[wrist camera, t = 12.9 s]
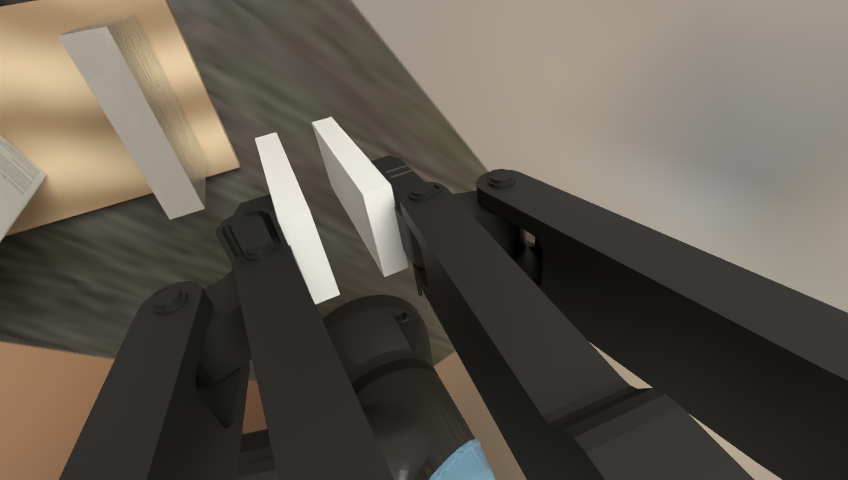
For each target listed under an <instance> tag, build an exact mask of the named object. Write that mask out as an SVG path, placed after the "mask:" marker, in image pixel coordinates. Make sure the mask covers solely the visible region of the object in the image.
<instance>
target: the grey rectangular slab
mask: <svg viewBox="0 0 848 480" xmlns="http://www.w3.org/2000/svg"><path fill="white" fill-rule="evenodd" d="M58 37H59V39H60V41H61V42H62V44H63V45H64V47H65V49H66V50H67V52H68V54H69V55H70V57H71V59H72V60H73V62H74V63H75V65H76V67H77V68H78V70H79V72H80V73H81V75H82V77H83V78H84V80H85V81H86V83H87V85H88V86H89V88H90V90H91V91H92V93H93V95H94V96H95V98H96V100H97V101H98V103H99V104H100V106H101V108H102V109H103V111H104V113H105V114H106V116H107V118H108V119H109V121H110V122H111V124H112V126H113V127H114V129H115V131H116V132H117V134H118V136H119V137H120V139H121V140H122V142H123V144H124V145H125V147H126V149H127V150H128V152H129V154H130V155H131V157H132V159H133V160H134V162H135V163H136V165H137V167H138V168H139V170H140V172H141V173H142V175H143V177H144V178H145V180H146V181H147V183H148V185H149V186H150V188H151V190H152V191H153V193H154V195H155V196H156V198H157V199H158V201H159V203H160V204H161V206H162V208H163V209H164V211H165V213H166V214H167V216H168V217H169V219H170V220H171V219H174V218H177V217H180V216H183V215H187V214H190V213H193V212H196V211H199V210H203V209H205V185H206V157H205V155H204V153H203V151H202V149H201V147H200V145H199V143H198V141H197V139H196V137H195V135H194V133H193V131H192V129H191V127H190V125H189V123H188V121H187V119H186V117H185V115H184V113H183V111H182V109H181V107H180V105H179V103H178V101H177V98H176V96H175V94H174V92H173V90H172V88H171V86H170V84H169V82H168V80H167V78H166V76H165V74H164V72H163V70H162V68H161V66H160V64H159V62H158V60H157V58H156V56H155V54H154V52H153V50H152V48H151V46H150V44H149V42H148V40H147V38H146V36H145V34H144V32H143V30H142V28H141V26H140V24H139V22H138V20H137V18H136V16H135V14H131V15H125V16H120V17H115V18H109V19H104V20H99V21H96V22H94V23H91V24H88V25H86V26H83V27H80V28H77V29H75V30H72V31H69V32H67V33H64V34H61V35H59V36H58Z"/></svg>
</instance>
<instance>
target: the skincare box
mask: <svg viewBox="0 0 848 480" xmlns="http://www.w3.org/2000/svg"><path fill="white" fill-rule="evenodd" d="M46 176H47V175H46V173H44V172H43V171H42V170H41V169H40V168H39V167H37V166H36V165H35V164H34V163H33V162H32V161H30V160H29V159H28V158H27V157H26V156H25V155H23V154H22V153H21V152H20V151H19V150H18V149H16V148H15V147H14V146H13V145H12V144H11V143H9V142H8V141H7V140H6V139H5V138H4V137H2V136H1V135H0V242H1V241H2V239H3V238H4V236H5V235H6V233H7V232H8V231H9V229H10V228H11V226H12V225H13V224H14V222H15V221H16V219H17V218H18V216H19V215H20V214H21V212H22V211H23V209H24V208H25V206H26V205H27V204H28V202H29V201H30V199H31V198H32V196H33V195H34V194H35V192H36V191H37V189H38V188H39V186H40V185H41V183H42V182H43V180H44V179H45V178H46Z"/></svg>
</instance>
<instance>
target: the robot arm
mask: <svg viewBox="0 0 848 480" xmlns="http://www.w3.org/2000/svg"><path fill="white" fill-rule="evenodd" d="M312 125H313V128H314V131H315V135H316V138H317V141H318V144H319V147H320V151H321V154H322V157H323V160H324V163H325V167H326V170H327V173H328V176H329V179H330V183H331V186H332V188H333V190H334V191H335V193H336V195H337V197H338V198H339V200H340V202H341V203H342V205H343V207H344V209H345V210H346V212H347V214H348V215H349V217H350V219H351V221H352V222H353V224H354V226H355V227H356V229H357V231H358V233H359V234H360V236H361V238H362V239H363V241H364V243H365V245H366V246H367V248H368V250H369V251H370V253H371V255H372V257H373V258H374V260H375V262H376V263H377V265H378V267H379V269H380V270H381V272H382V274H383V275H384V277H386V276H389V275H391V274H394V273H396V272H399V271H401V270H404V269H406V268H409V267H408V262H407V257H406V254H407V256H408V257H409V258H410V260H411V261H412V264H413V269H414V274H415V279H416V284H417V289H418V293H419V296H421V295H423V294H422V290H423V292H424V294H425V295H426V297H427V299H428V301H429V303H430V304H431V306H432V308H433V310H434V312H435V314H436V315H437V317H438V319H439V321H440V323H441V324H442V326H443V328H444V330H445V332H446V334H447V335H448V337H449V339H450V341H451V343H452V344H453V346H454V348H455V350H456V352H457V354H458V355H459V357H460V359H461V361H462V363H463V364H464V366H465V368H466V370H467V372H468V374H469V375H470V377H471V379H472V381H473V383H474V384H475V386H476V388H477V390H478V392H479V393H480V395H481V397H482V399H483V401H484V403H485V404H486V406H487V408H488V410H489V412H490V414H491V415H492V417H493V419H494V421H495V423H496V424H497V426H498V428H499V430H500V432H501V433H502V435H503V437H504V439H505V441H506V442H507V444H508V446H509V448H510V450H511V451H512V453H513V455H514V457H515V459H516V461H517V463H518V464H519V466H520V468H521V470H522V472H523V473H524V475H525V477H526V479H527V480H754V479H753V478H752V477H751V476H750V475H749V474H748V473H747V472H746V471H745V470H744V469H743V468H742V467H741V466H740V465H739V464H738V463H737V462H736V461H735V460H734V459H733V458H732V457H731V456H730V455H729V454H728V453H727V452H726V451H725V450H724V449H723V448H722V447H721V446H720V445H719V444H718V443H717V442H716V441H715V440H714V439H713V438H712V437H711V436H710V435H709V434H708V433H707V432H706V431H705V430H704V429H703V428H702V427H701V426H700V425H699V424H698V423H697V422H696V421H695V420H694V419H693V418H692V417H691V416H690V415H692V416H693V417H694V418H696V419H697V420H699V421H700V422H701V423H703V424H704V425H705V426H707V427H708V428H710V429H711V430H713V431H714V432H715V433H717V434H718V435H719V436H721V437H722V438H724V439H725V440H726V441H728V442H729V443H730V444H732V445H733V446H735V447H736V448H737V449H739V450H740V451H742V452H743V453H744V454H746V455H747V456H749V457H750V458H751V459H753V460H754V461H755V462H757V463H758V464H760V465H761V466H763V467H764V468H766V469H768V470H769V471H770V472H772V473H773V474H775V475H776V476H778V477H780V478H781V479H782V480H848V313H846V312H844V311H842V310H839V309H837V308H835V307H833V306H830V305H828V304H826V303H823V302H821V301H819V300H816V299H814V298H812V297H809V296H807V295H805V294H802V293H800V292H798V291H796V290H793V289H791V288H788V287H786V286H784V285H782V284H779V283H777V282H775V281H772V280H770V279H768V278H765V277H763V276H761V275H758V274H756V273H753V272H751V271H749V270H746V269H744V268H742V267H739V266H737V265H735V264H733V263H730V262H728V261H725V260H723V259H721V258H719V257H716V256H714V255H712V254H709V253H707V252H705V251H702V250H700V249H698V248H695V247H693V246H690V245H688V244H686V243H684V242H681V241H679V240H677V239H674V238H672V237H669V236H667V235H665V234H663V233H660V232H658V231H656V230H653V229H651V228H649V227H646V226H644V225H641V224H639V223H637V222H634V221H632V220H630V219H628V218H625V217H623V216H620V215H618V214H616V213H613V212H611V211H609V210H607V209H604V208H602V207H600V206H597V205H595V204H593V203H590V202H588V201H586V200H583V199H581V198H578V197H576V196H574V195H571V194H569V193H567V192H564V191H562V190H560V189H558V188H555V187H553V186H551V185H548V184H546V183H544V182H541V181H539V180H537V179H534V178H532V177H530V176H527V175H525V174H523V173H520V172H517V171H514V170H505V169H498V170H493V171H491V172H488V173H485V174H483V175H482V176H480V177H479V178H478V180H477V182H476V185H477V191H471V192H465V193H457V194H452V193H451V192H450V191H449V190H448V189H447V188H446V187H445V186H443V185H442V184H439V183H435V182H424V181H423V180H422V179H421V178H420V177H419V176H418V175H417V174H416V173H415V172H414V171H412V169H411V168H410V167H408V166H407V165H406V164H405V163H404V162H403V161H402V160H401V159H399V158H396V157H393V156H386V157H382V158H379V159H376V160H373V161H369V159H368V158H367V157H366V156H365V155H364V154H363V153H362V151H361V150H360V149H359V148H358V147H357V146H356V145H355V143H354V142H353V141H352V140H351V139H350V138H349V137H348V135H347V134H346V133H345V132H344V131H343V130H342V129H341V127H340V126H339V125H338V124H337V123H336V122H335V121H334V119H333V118H332V117H330V118H326V119H323V120H319V121H315V122H312ZM255 140H256V143H257V147H258V151H259V154H260V158H261V161H262V165H263V169H264V172H265V176H266V179H267V183H268V186H269V190H270V194H269V195H266V196H263V197H259V198H256V199H253V200H250V201H247V202H244V203H241V204H240V205H239V207H238V208H237V210H236V211H235V213H234V214H235V215H232V216H231V217H229V218H228V219H226V220H225V221H223V222H222V223H221V225H220V226H219V227H218V228H217V232H216V235H217V237H218V239H219V240H220V242H221V244H222V246H223V248H224V250H225V251H226V253H227V255H228V257H229V259H230V261H231V262H232V267H233V270H232V271H231V272H230V273H229V274H227V275H226V276H225V277H224V278H222V279H221V280H219V281H217V282H216V283H214V284H212V285H211V286H209V287H207V288H205V289H203V288H202V286H200V285H199V284H198V283H197V282H192V281H184V282H178V283H175V284H172V285H169V286H166V287H164V288H162V289H161V290H158V291H157V292H155V293H154V294H153V295H152V296H150V297H149V298H148V299H147V300H146V301H144V303H143V304H142V305H141V307H140V308H139V310H138V311H137V313H136V316H135V318H134V320H133V322H132V324H131V326H130V328H129V331H128V333H127V335H126V337H125V339H124V341H123V343H122V346H121V348H120V350H119V352H118V354H117V356H116V358H115V361H114V363H113V365H112V367H111V369H110V371H109V374H108V376H107V378H106V380H105V382H104V384H103V387H102V388H101V391H100V393H99V395H98V397H97V399H96V401H95V404H94V406H93V408H92V410H91V412H90V414H89V416H88V418H87V421H86V423H85V425H84V427H83V429H82V431H81V433H80V436H79V438H78V440H77V442H76V444H75V446H74V449H73V451H72V453H71V455H70V457H69V459H68V461H67V463H66V465H65V468H64V470H63V472H62V474H61V476H60V479H59V480H495V477H494V475H493V472H492V470H491V468H490V466H489V464H488V462H487V460H486V457H485V455H484V454H483V451H482V449H481V445H480V443H479V441H478V440H476V439H475V437H474V436H473V434H472V432H471V431H470V429H469V427H468V425H467V424H466V422H465V420H464V418H463V417H462V415H461V413H460V412H459V410H458V408H457V406H456V405H455V403H454V401H453V400H452V398H451V396H450V395H449V393H448V391H447V389H446V388H445V386H444V384H443V383H442V381H441V379H440V378H439V376H438V374H437V372H436V371H435V369H434V367H433V361H432V355H431V349H430V342H429V336H428V331H427V328H426V325H425V323H424V321H423V319H422V318H421V316H420V314H419V313H418V311H417V310H416V309H415V307H414V306H413V305H411V304H410V303H409V302H407V301H405V300H403V299H401V298H398V297H394V296H386V295H378V296H369V297H364V298H361V299H357V300H355V301H352V302H350V303H347V304H345V305H343V306H341V307H340V308H338V309H336V310H335V311H333V312H332V313H331V314H329V315H328V316H327V317H326V318H325V319H323V320H322V318H321V316H320V314H319V312H318V310H317V307H316V305H315V304H318V303H320V302H323V301H325V300H328V299H330V298H333V297H335V296H338V295H340V293H339V290H338V288H337V285H336V282H335V279H334V276H333V274H332V271H331V268H330V265H329V263H328V260H327V257H326V254H325V252H324V249H323V246H322V243H321V241H320V238H319V235H318V232H317V229H316V227H315V224H314V221H313V218H312V216H311V213H310V210H309V208H308V206H307V203H306V201H305V199H304V196H303V194H302V192H301V189H300V187H299V185H298V182H297V180H296V178H295V175H294V173H293V171H292V168H291V166H290V164H289V161H288V159H287V157H286V154H285V152H284V150H283V147H282V145H281V143H280V140H279V138H278V136H277V133H272V134H269V135H265V136H261V137H258V138H255ZM526 231H527V232H529V233H531V234H532V235H533V236H535V244H533V243H531V242H529V241H527V240H526ZM588 341H589V342H590V343H592V344H593V345H595V346H596V347H597V348H599V349H600V350H601V351H603V352H604V353H606V354H607V355H608V356H610V357H611V358H613V359H614V360H615V361H617V362H618V363H619V364H621V365H622V366H624V367H625V368H626V369H628V370H629V371H631V372H632V373H633V374H635V375H636V376H638V377H639V378H640V379H642V380H643V381H645V382H646V383H647V384H649V385H650V386H651V387H653V388H644V389H637V388H634V387H633V386H630V385H629V384H628V383H627V382H626V381H625V380H624V379H623V378H622V377H621V376H620V375H619V374H618V373H617V372H616V371H615V370H614V369H613V368H612V366H611V365H610V364H609V363H608V362H607V361H606V360H605V359H604V358H603V357H602V356H601V355H600V354H599V352H598V351H597V350H596V349H595V348H594V347H593V346H592V345H591V344H590V343H589V342H588ZM251 359H253V364H254V369H255V373H256V378H257V383H258V387H259V392H260V396H261V401H262V405H263V410H264V415H265V419H266V424H267V429H266V430H261V431H256V432H251V433H246V434H243V431H242V426H243V419H244V411H245V402H246V395H247V387H248V379H249V371H250V367H249V360H251ZM688 413H689V414H690V415H689V414H688Z"/></svg>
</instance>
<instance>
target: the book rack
mask: <svg viewBox="0 0 848 480" xmlns="http://www.w3.org/2000/svg"><path fill="white" fill-rule="evenodd" d="M131 14H135V16H136V18H137V20H138V22H139V24H140V26H141V28H142V30H143V32H144V34H145V36H146V38H147V40H148V42H149V44H150V46H151V48H152V50H153V52H154V54H155V56H156V58H157V60H158V62H159V64H160V66H161V68H162V70H163V72H164V74H165V76H166V78H167V80H168V82H169V84H170V86H171V88H172V90H173V92H174V94H175V96H176V98H177V101H178V103H179V105H180V107H181V109H182V111H183V113H184V115H185V117H186V119H187V121H188V123H189V125H190V127H191V129H192V131H193V133H194V135H195V137H196V139H197V141H198V143H199V145H200V147H201V149H202V151H203V153H204V155H205V157H206V177H209V176H212V175H215V174H219V173H222V172H226V171H229V170H233V169H236V168H239V167H240V164H239V160H238V158H237V156H236V154H235V152H234V149H233V147H232V145H231V143H230V140H229V138H228V136H227V134H226V131H225V129H224V127H223V125H222V122H221V120H220V118H219V116H218V113H217V111H216V109H215V107H214V104H213V102H212V100H211V98H210V95H209V93H208V91H207V89H206V86H205V84H204V82H203V80H202V77H201V75H200V73H199V71H198V68H197V66H196V64H195V62H194V59H193V57H192V55H191V53H190V50H189V48H188V46H187V44H186V41H185V39H184V37H183V35H182V32H181V30H180V28H179V26H178V24H177V21H176V19H175V17H174V15H173V12H172V10H171V8H170V6H169V3H168V1H167V0H37V1H31V2H25V3H19V4H14V5H8V6H2V7H0V135H1V136H2V137H4V138H5V139H6V140H7V141H8V142H9V143H11V144H12V145H13V146H14V147H15V148H16V149H18V150H19V151H20V152H21V153H22V154H23V155H25V156H26V157H27V158H28V159H29V160H30V161H32V162H33V163H34V164H35V165H36V166H37V167H39V168H40V169H41V170H42V171H43V172H44V173H46V175H47V176H46V178H45V179H44V180H43V182H42V183H41V185H40V186H39V188H38V189H37V191H36V192H35V194H34V195H33V196H32V198H31V199H30V201H29V202H28V204H27V205H26V206H25V208H24V209H23V211H22V212H21V214H20V215H19V216H18V218H17V219H16V221H15V222H14V224H13V225H12V226H11V228H10V229H9V231H8V232H7V233H6V235H5V236H7V235H11V234H14V233H18V232H21V231H24V230H28V229H31V228H35V227H38V226H42V225H45V224H48V223H52V222H55V221H59V220H62V219H65V218H69V217H72V216H76V215H79V214H82V213H86V212H89V211H93V210H96V209H99V208H103V207H106V206H110V205H113V204H117V203H120V202H123V201H127V200H130V199H134V198H137V197H140V196H144V195H147V194H151V193H153V191H152V190H151V188H150V186H149V185H148V183H147V181H146V180H145V178H144V177H143V175H142V173H141V172H140V170H139V168H138V167H137V165H136V163H135V162H134V160H133V159H132V157H131V155H130V154H129V152H128V150H127V149H126V147H125V145H124V144H123V142H122V140H121V139H120V137H119V136H118V134H117V132H116V131H115V129H114V127H113V126H112V124H111V122H110V121H109V119H108V118H107V116H106V114H105V113H104V111H103V109H102V108H101V106H100V104H99V103H98V101H97V100H96V98H95V96H94V95H93V93H92V91H91V90H90V88H89V86H88V85H87V83H86V81H85V80H84V78H83V77H82V75H81V73H80V72H79V70H78V68H77V67H76V65H75V63H74V62H73V60H72V59H71V57H70V55H69V54H68V52H67V50H66V49H65V47H64V45H63V44H62V42H61V41H60V39H59V37H58V36H59V35H61V34H64V33H67V32H69V31H72V30H75V29H77V28H80V27H83V26H86V25H88V24H91V23H94V22H96V21H99V20H104V19H109V18H115V17H120V16H125V15H131Z"/></svg>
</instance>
